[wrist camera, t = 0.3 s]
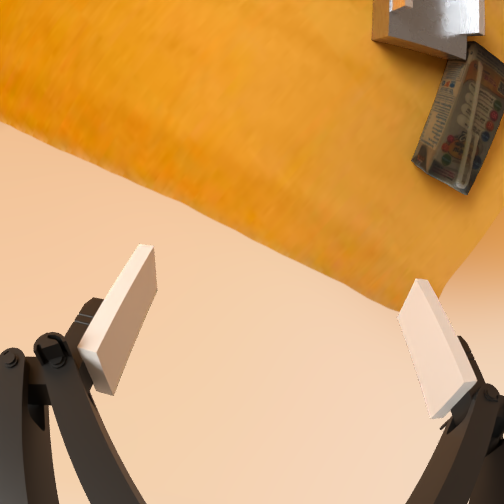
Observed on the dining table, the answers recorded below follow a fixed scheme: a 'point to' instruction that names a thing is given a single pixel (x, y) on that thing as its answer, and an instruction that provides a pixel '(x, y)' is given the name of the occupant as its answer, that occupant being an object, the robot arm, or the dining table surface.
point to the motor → (429, 25)
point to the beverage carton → (463, 119)
